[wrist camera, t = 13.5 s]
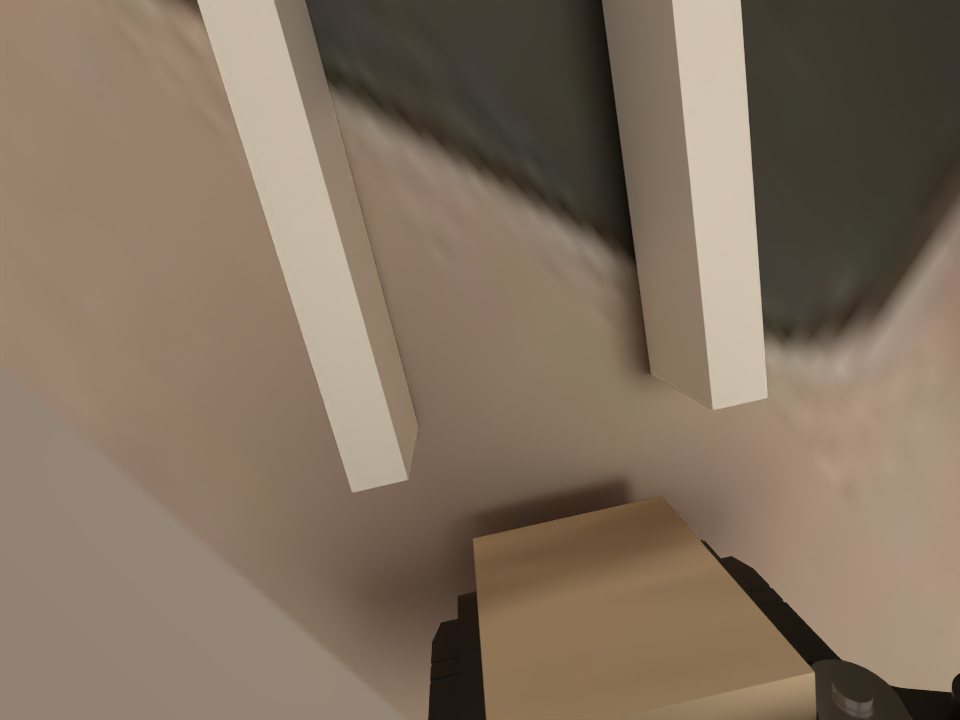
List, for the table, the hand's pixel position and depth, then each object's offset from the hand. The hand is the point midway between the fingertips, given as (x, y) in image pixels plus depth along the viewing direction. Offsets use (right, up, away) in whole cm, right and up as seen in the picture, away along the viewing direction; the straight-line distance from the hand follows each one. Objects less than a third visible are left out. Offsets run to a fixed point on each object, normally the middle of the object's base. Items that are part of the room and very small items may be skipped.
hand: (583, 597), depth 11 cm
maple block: (0, -1, +1) cm, 1 cm away
